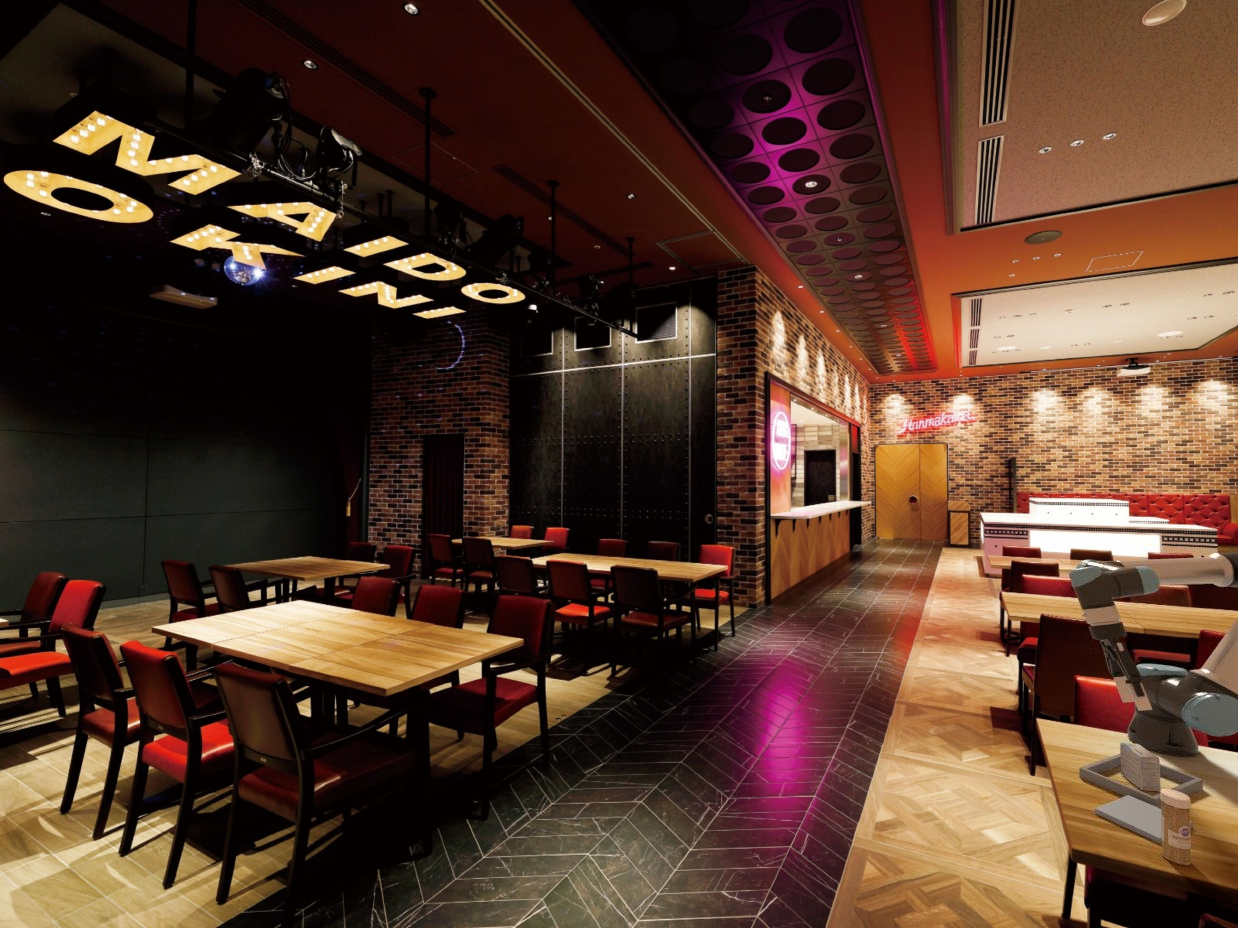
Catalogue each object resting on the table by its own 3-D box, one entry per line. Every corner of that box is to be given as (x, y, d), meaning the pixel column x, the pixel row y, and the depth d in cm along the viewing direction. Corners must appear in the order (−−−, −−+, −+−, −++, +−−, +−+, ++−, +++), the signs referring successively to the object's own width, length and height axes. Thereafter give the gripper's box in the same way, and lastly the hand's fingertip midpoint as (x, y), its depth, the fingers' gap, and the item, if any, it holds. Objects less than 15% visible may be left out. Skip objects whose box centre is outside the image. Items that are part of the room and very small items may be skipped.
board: (1128, 799, 140) (1128, 794, 140) (1192, 827, 129) (1192, 822, 129) (1095, 813, 135) (1094, 808, 135) (1159, 843, 124) (1159, 837, 124)
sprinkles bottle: (1181, 867, 116) (1180, 801, 116) (1155, 853, 120) (1154, 789, 121) (1197, 864, 117) (1196, 797, 117) (1171, 849, 122) (1170, 786, 122)
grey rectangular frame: (1126, 760, 160) (1126, 751, 160) (1202, 789, 145) (1202, 779, 145) (1079, 777, 151) (1079, 767, 151) (1156, 809, 136) (1155, 799, 136)
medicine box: (1161, 792, 143) (1160, 757, 144) (1140, 790, 144) (1140, 756, 144) (1139, 776, 151) (1139, 743, 151) (1120, 774, 152) (1119, 741, 152)
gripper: (1078, 623, 170) (1107, 699, 163) (1099, 627, 148) (1133, 714, 142) (1109, 619, 167) (1139, 697, 160) (1135, 622, 145) (1172, 712, 139)
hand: (1137, 705), depth 151 cm, fingers open, 13 cm apart
